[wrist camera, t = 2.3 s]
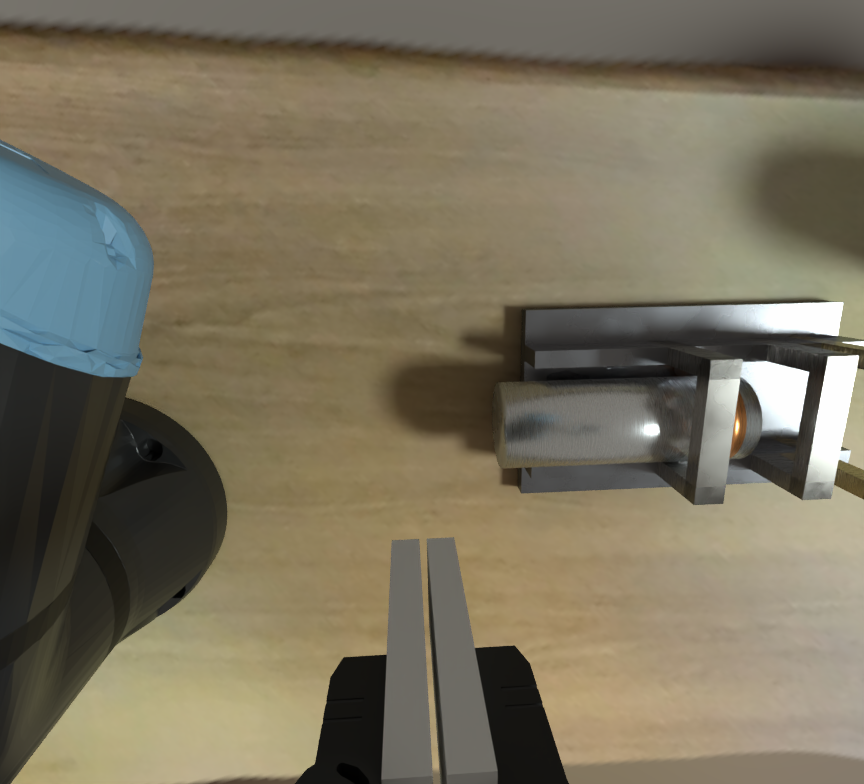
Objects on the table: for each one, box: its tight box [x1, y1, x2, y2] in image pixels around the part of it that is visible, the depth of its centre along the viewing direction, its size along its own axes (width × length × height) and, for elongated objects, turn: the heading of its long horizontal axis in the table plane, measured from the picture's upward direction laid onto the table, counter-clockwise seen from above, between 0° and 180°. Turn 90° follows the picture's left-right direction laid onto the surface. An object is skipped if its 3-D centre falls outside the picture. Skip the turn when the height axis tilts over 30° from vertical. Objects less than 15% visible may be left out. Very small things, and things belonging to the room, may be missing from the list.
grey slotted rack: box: [518, 301, 864, 505], centre depth 28 cm, size 20×12×8 cm, turn 91°
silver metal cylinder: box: [492, 376, 762, 468], centre depth 29 cm, size 14×5×5 cm, turn 91°
